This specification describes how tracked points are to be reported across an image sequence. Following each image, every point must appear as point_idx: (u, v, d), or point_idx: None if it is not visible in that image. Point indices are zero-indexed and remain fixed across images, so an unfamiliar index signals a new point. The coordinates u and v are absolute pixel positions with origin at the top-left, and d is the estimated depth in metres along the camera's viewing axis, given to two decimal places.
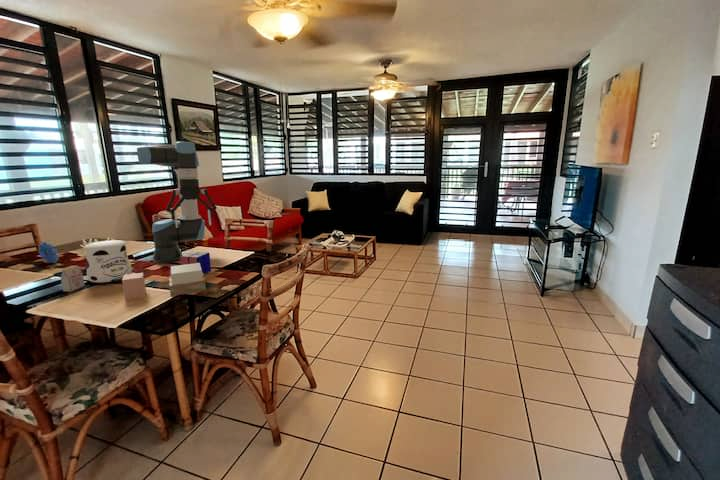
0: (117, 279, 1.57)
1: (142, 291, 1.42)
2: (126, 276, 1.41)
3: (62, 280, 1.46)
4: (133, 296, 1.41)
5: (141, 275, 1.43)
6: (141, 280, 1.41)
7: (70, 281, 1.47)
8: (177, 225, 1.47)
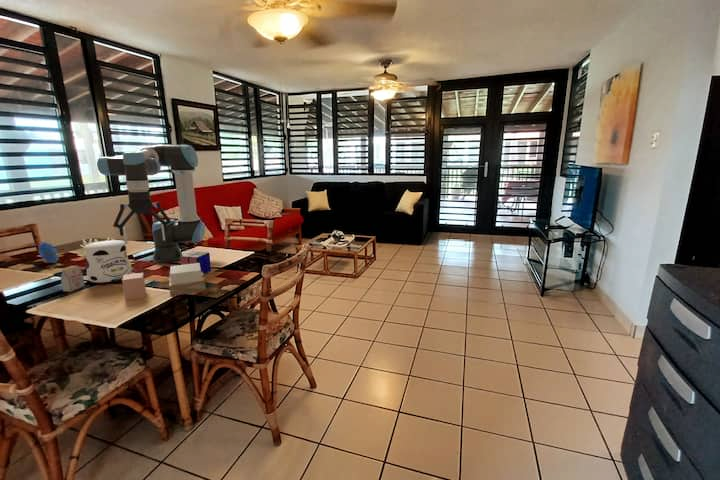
0: (117, 279, 1.57)
1: (142, 291, 1.42)
2: (126, 276, 1.41)
3: (62, 280, 1.46)
4: (133, 296, 1.41)
5: (141, 275, 1.43)
6: (141, 280, 1.41)
7: (70, 281, 1.47)
8: (126, 241, 1.37)
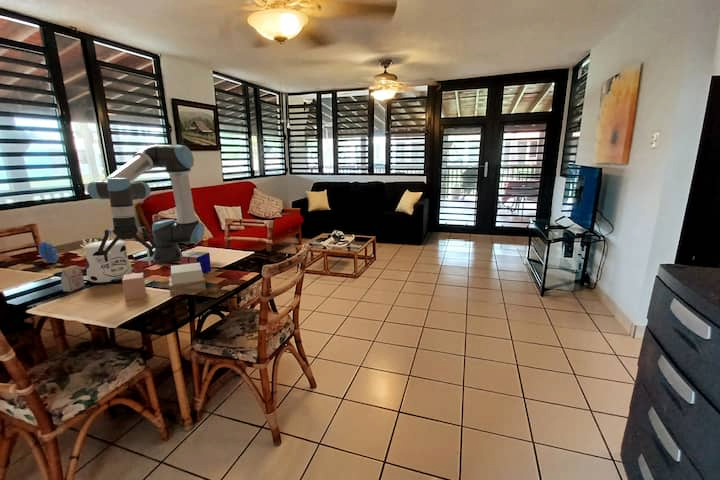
0: (117, 279, 1.57)
1: (142, 291, 1.42)
2: (126, 276, 1.41)
3: (62, 280, 1.46)
4: (133, 296, 1.41)
5: (141, 275, 1.43)
6: (141, 280, 1.41)
7: (70, 281, 1.47)
8: (111, 267, 1.36)
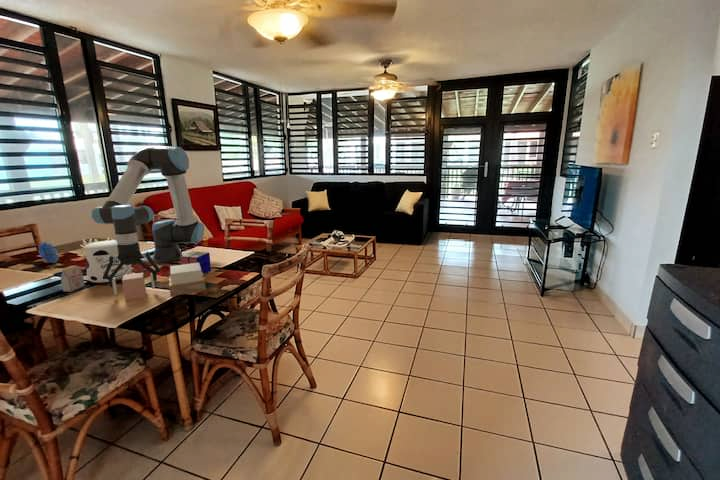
0: (117, 279, 1.57)
1: (142, 291, 1.42)
2: (126, 276, 1.41)
3: (62, 280, 1.46)
4: (133, 296, 1.41)
5: (141, 275, 1.43)
6: (141, 280, 1.41)
7: (70, 281, 1.47)
8: (116, 292, 1.39)
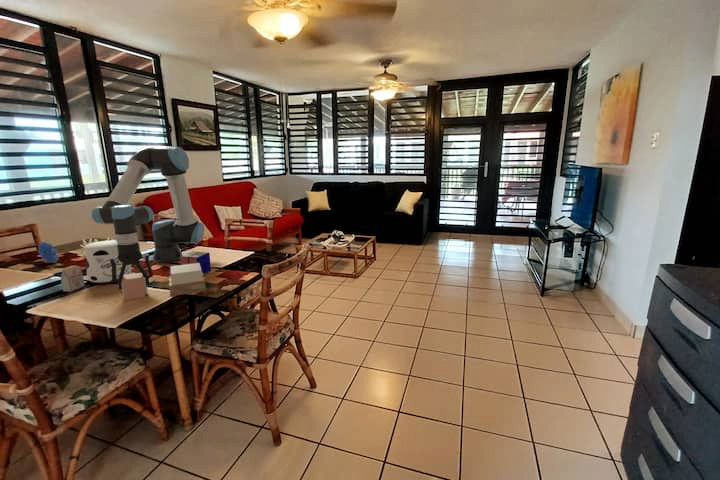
0: None
1: (142, 291, 1.42)
2: (126, 276, 1.41)
3: (62, 280, 1.46)
4: (133, 296, 1.40)
5: (141, 275, 1.43)
6: (141, 280, 1.41)
7: (70, 281, 1.47)
8: None
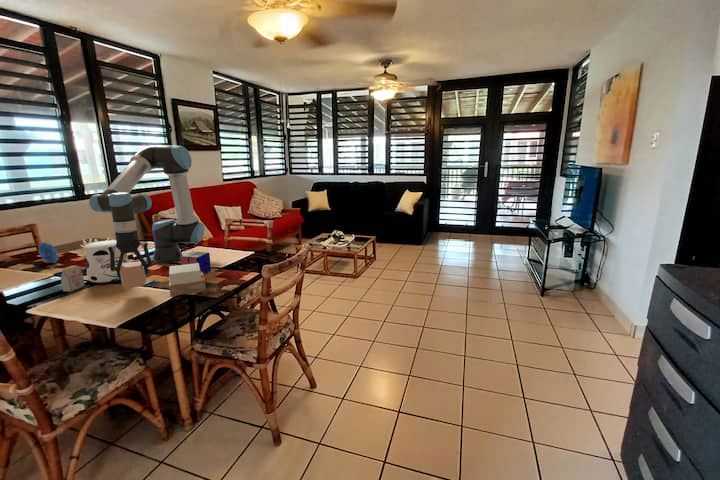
0: (117, 279, 1.57)
1: (141, 279, 1.41)
2: (125, 264, 1.40)
3: (62, 280, 1.46)
4: (132, 285, 1.40)
5: (140, 263, 1.42)
6: (140, 268, 1.40)
7: (70, 281, 1.47)
8: None
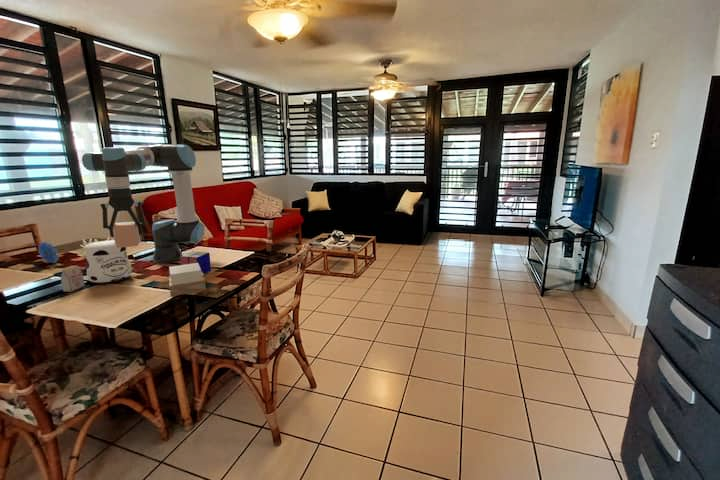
0: (117, 279, 1.57)
1: (134, 239, 1.36)
2: (118, 223, 1.36)
3: (62, 280, 1.46)
4: (125, 244, 1.35)
5: (133, 223, 1.38)
6: (133, 227, 1.35)
7: (70, 281, 1.47)
8: None
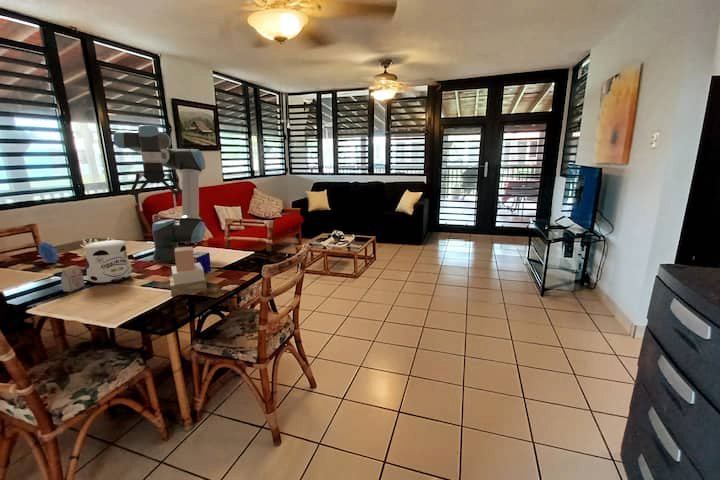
0: (117, 279, 1.57)
1: (192, 263, 1.48)
2: (177, 249, 1.48)
3: (62, 280, 1.46)
4: (184, 268, 1.47)
5: (191, 248, 1.50)
6: (191, 253, 1.47)
7: (70, 281, 1.47)
8: (141, 208, 1.49)
